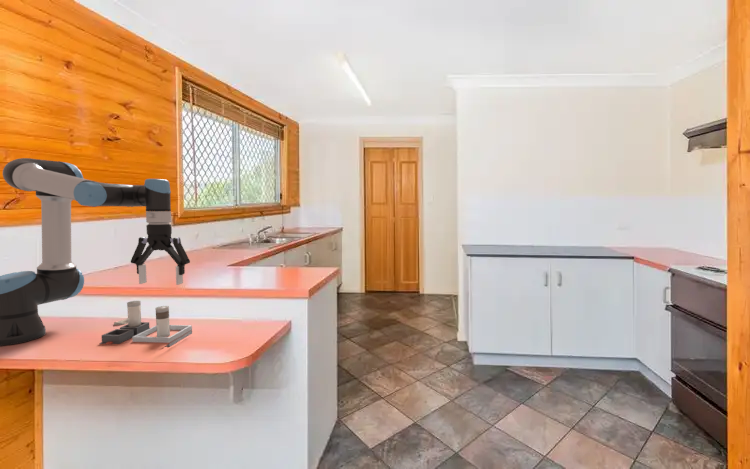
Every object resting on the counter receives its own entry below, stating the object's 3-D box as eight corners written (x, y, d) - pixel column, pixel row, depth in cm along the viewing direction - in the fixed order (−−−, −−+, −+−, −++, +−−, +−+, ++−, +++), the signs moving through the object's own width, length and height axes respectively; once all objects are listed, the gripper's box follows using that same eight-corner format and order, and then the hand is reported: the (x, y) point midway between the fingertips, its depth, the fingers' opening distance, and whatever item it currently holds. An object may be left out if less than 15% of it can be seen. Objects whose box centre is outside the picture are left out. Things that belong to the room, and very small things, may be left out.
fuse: (125, 333, 131) (124, 303, 130) (134, 329, 135) (132, 300, 134) (136, 333, 130) (135, 303, 129) (144, 329, 134) (143, 300, 134)
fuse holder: (98, 348, 120) (97, 336, 120) (134, 331, 137) (133, 321, 136) (118, 348, 120) (117, 337, 120) (151, 332, 136) (151, 321, 136)
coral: (110, 329, 139) (110, 318, 139) (126, 321, 150) (125, 310, 149) (126, 329, 140) (125, 318, 140) (140, 320, 150) (140, 310, 150)
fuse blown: (154, 339, 127) (152, 309, 126) (161, 335, 131) (160, 305, 130) (165, 339, 126) (163, 309, 126) (172, 335, 130) (171, 306, 130)
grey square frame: (132, 345, 123) (132, 336, 122) (158, 332, 136) (158, 324, 135) (169, 346, 122) (169, 338, 121) (192, 333, 135) (191, 325, 135)
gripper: (116, 223, 123) (119, 284, 124) (187, 224, 121) (188, 286, 123) (133, 222, 130) (135, 280, 132) (199, 223, 129) (201, 282, 130)
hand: (161, 283), depth 127 cm, fingers open, 13 cm apart
